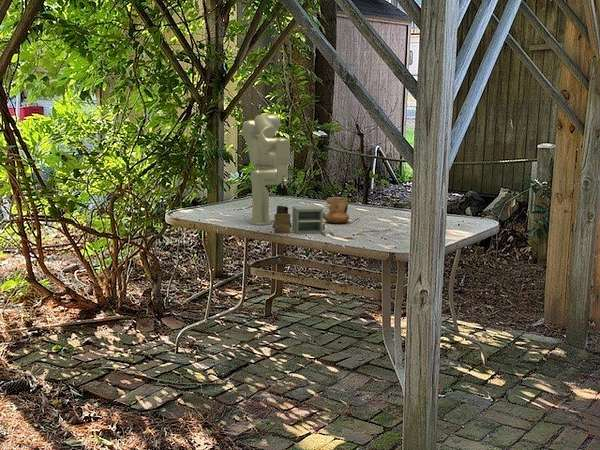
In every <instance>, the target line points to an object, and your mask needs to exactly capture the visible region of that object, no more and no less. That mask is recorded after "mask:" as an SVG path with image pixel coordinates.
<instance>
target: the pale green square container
mask: <svg viewBox="0 0 600 450" xmlns="http://www.w3.org/2000/svg"><path fill="white" fill-rule="evenodd" d="M325 214H326V213H325V212H323V208H322V207H320V206H319V205H305V206H304V205H300V206H299V205H297V206H296V205H295V206H294V205H293V206H292V217H291V218H292V222H291V226H292V227H291V229H292V231H293V232H294V233H295V234H296V235H298V234H300V235H301V234H302V235H303V234H305V235H306V234H321V235H322V234H323V235H324V236H323V235H322V236H323V237H326V233H324V232H323V231H324V230H325V231H326V223H323V219H324V220H325ZM329 233H330V234H329V235H330V236H332V237H335V234H334V233H333V232H332V231H329Z"/></svg>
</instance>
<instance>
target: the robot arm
mask: <svg viewBox="0 0 600 450" xmlns="http://www.w3.org/2000/svg"><path fill="white" fill-rule="evenodd" d="M280 127H281V119H280V117H279V116H278V115H277V114H273V113H272V114H270V113H269V114H267V113H266V114H263V113H262V114H257V116H256V117H254V119H249V120H245V121H244V122H243V123H242V136H243V138H244V140H245V143H246V145H247V150H248V156H249V161H250V165H251V166H252V167H253V168H254V169H253V170H252V171H250V181H251V193H252V195H251V199H252V201H251V202H252V204H251V207H252V209H251V215H252V216H251V220H250V221H249V224H250V225H253V226H267V225H272V220H270V218H269V217H270V193H269V190H268V188H267V187H266V186H272V185H273V186H274V185H277V194H279V195H281V197H284V196H285V197H287V196H288V183H289V166H290V164H291V162H290V161H291V140H290V139H289V138H285V137H275V136H276V134H277V133H276V132H277V131H278V130H279V128H280ZM257 136H258V137H257Z"/></svg>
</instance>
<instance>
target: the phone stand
mask: <svg viewBox="0 0 600 450" xmlns="http://www.w3.org/2000/svg"><path fill="white" fill-rule="evenodd" d="M275 214H289V207H288V206H284V205H277V206H276V213H275ZM272 228H274V223H273V225H272ZM290 229H292V222H291V221H290Z"/></svg>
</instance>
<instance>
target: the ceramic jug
mask: <svg viewBox="0 0 600 450" xmlns="http://www.w3.org/2000/svg"><path fill="white" fill-rule="evenodd" d="M348 200H349V199H348V198H347V197H341V196H340V197H336V196H335V197H331V196H330V197H327V198H326V204H327V205H326V208H328V210H329V211H328V212H327V213H325V219H324V220H325V221H326V222H327V223H330V224H338V225H339V224H343V223H346V222H348V221H349V220H350V215H349V214H348V209H349V205H348V202H349V201H348Z"/></svg>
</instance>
